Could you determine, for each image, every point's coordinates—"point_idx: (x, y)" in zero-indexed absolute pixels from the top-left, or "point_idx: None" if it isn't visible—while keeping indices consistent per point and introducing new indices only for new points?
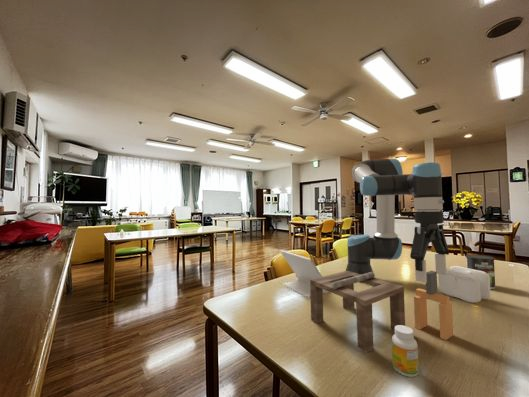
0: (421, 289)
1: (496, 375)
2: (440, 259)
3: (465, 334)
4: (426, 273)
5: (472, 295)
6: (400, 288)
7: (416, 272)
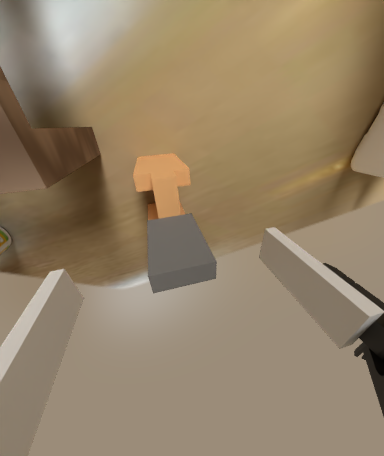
0: (171, 189)
1: (126, 272)
2: (318, 302)
3: (199, 214)
4: (150, 277)
5: (368, 162)
6: (11, 191)
7: (26, 317)
